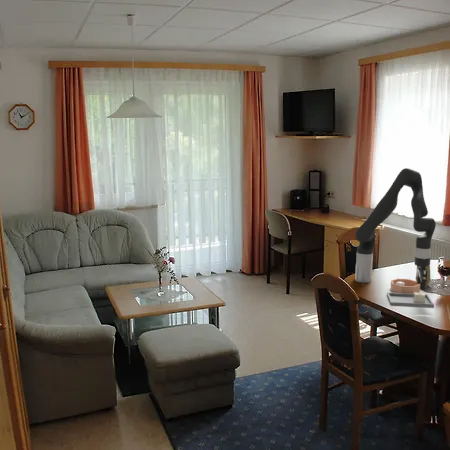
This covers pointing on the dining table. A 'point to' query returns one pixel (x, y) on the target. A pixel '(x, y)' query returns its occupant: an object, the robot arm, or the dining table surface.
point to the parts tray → (408, 300)
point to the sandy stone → (419, 297)
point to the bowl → (405, 286)
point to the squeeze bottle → (427, 276)
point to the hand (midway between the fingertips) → (421, 286)
